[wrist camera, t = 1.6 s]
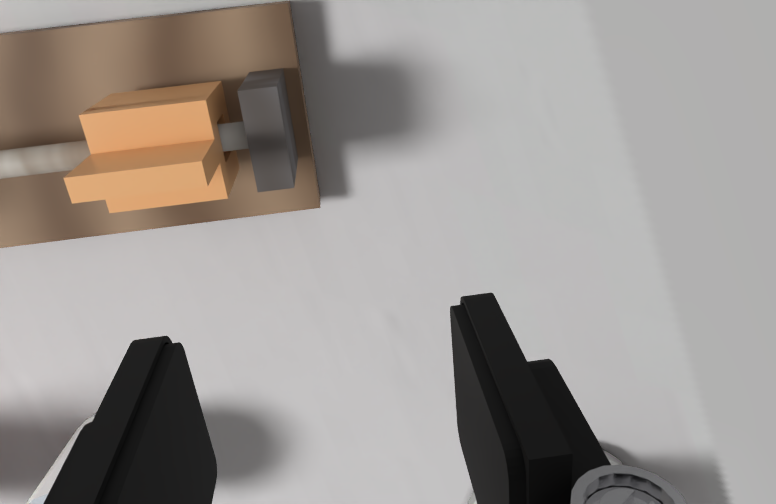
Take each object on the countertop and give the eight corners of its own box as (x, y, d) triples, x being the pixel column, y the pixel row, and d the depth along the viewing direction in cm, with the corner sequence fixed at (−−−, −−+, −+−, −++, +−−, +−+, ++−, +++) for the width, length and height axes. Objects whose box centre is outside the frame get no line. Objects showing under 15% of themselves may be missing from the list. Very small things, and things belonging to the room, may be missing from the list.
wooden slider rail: (289, 0, 30) (279, 14, 23) (320, 197, 34) (319, 257, 27) (-233, 59, 29) (-402, 92, 22) (-133, 254, 33) (-249, 331, 26)
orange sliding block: (221, 80, 29) (191, 117, 22) (239, 168, 31) (217, 226, 24) (111, 93, 29) (48, 134, 22) (136, 181, 30) (85, 242, 24)
